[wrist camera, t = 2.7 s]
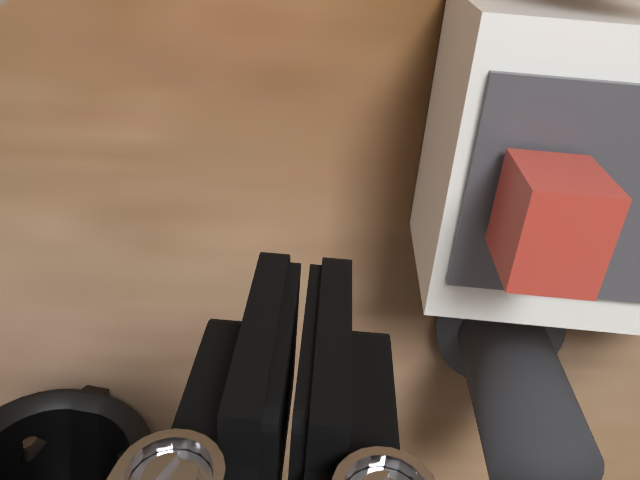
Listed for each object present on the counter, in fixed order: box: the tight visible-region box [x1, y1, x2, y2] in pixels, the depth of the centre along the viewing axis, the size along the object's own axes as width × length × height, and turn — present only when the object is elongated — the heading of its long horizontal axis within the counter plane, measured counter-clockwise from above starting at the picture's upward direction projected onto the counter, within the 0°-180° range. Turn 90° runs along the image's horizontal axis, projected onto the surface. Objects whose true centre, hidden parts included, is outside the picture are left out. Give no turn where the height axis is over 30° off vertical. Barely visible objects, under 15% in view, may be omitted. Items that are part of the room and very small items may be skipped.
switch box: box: [410, 0, 640, 335], centre depth 21 cm, size 12×10×7 cm
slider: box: [485, 148, 632, 301], centre depth 16 cm, size 2×3×3 cm
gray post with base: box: [435, 316, 604, 480], centre depth 25 cm, size 6×6×9 cm
